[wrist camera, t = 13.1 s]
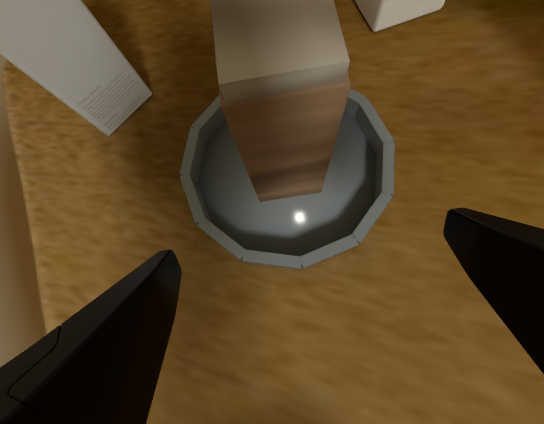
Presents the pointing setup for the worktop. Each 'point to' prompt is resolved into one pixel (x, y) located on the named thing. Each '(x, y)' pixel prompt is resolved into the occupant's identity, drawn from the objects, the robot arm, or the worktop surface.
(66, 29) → the skincare box
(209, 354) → the worktop surface
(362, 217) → the slate dish
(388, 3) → the medicine bottle
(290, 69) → the walnut block
